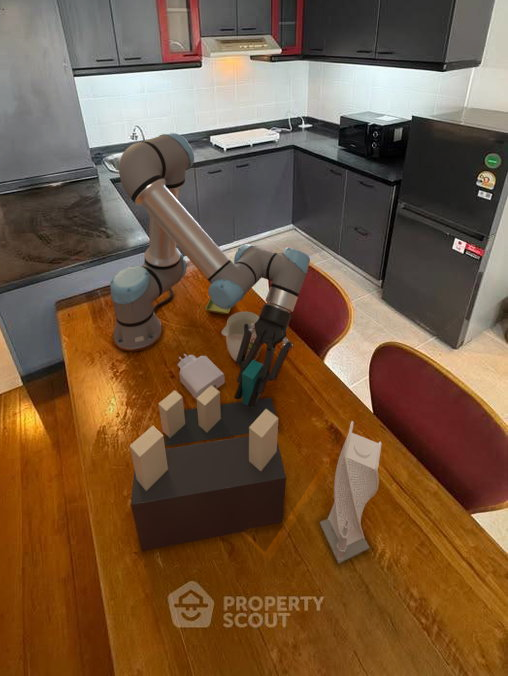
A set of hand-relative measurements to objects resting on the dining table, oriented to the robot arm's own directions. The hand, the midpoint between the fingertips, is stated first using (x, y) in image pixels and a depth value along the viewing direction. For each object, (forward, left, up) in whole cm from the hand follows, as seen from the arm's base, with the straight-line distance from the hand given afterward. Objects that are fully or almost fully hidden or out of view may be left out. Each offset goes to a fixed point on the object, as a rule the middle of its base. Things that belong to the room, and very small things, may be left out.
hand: (244, 401), depth 91 cm
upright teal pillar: (-3, +3, -3) cm, 5 cm away
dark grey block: (-3, -5, -10) cm, 12 cm away
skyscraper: (+24, +17, -10) cm, 31 cm away
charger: (-18, -11, -10) cm, 24 cm away
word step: (+17, -9, -10) cm, 22 cm away
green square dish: (-47, -1, -10) cm, 48 cm away
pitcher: (-24, +5, -10) cm, 26 cm away
